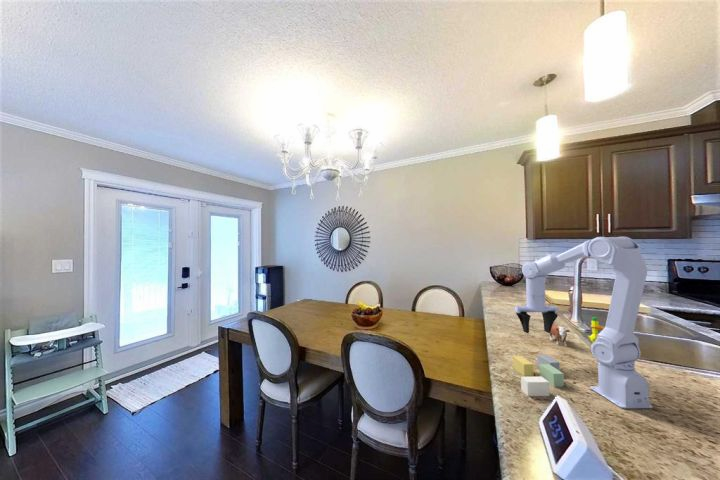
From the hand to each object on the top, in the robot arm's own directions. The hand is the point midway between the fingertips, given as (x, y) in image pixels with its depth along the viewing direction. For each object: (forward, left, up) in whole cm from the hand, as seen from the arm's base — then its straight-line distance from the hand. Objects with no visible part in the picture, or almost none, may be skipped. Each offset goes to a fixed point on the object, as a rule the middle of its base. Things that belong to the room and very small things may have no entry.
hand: (536, 332), depth 94 cm
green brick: (-15, +6, -10) cm, 19 cm away
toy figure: (+9, -30, -10) cm, 33 cm away
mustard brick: (-9, +11, -10) cm, 17 cm away
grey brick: (-8, +2, -10) cm, 13 cm away
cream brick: (-21, +15, -10) cm, 27 cm away
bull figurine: (+14, -18, -10) cm, 25 cm away
